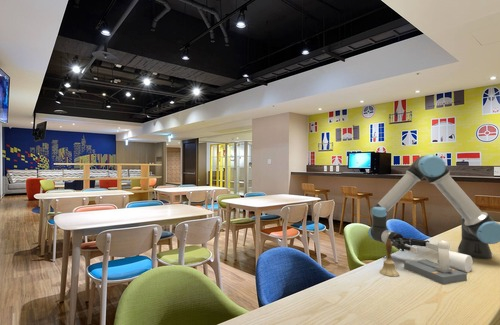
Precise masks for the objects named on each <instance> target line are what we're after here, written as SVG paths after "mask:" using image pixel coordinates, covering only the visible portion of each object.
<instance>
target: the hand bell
mask: <svg viewBox="0 0 500 325" xmlns="http://www.w3.org/2000/svg"><path fill="white" fill-rule="evenodd" d="M392 249H393V246H392V243H391V240H390V239H387V242H386V243H385V250H386V260H384V261H383V266H382V268H381V269H380V270H379V273H380V274H381V275H383V276H386V277H391V278H392V277H398V276H400V272H398V270H397V268H396V266H395V262H394V261H393V260H392V259H391V258H392V254H391V253H392Z"/></svg>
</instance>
